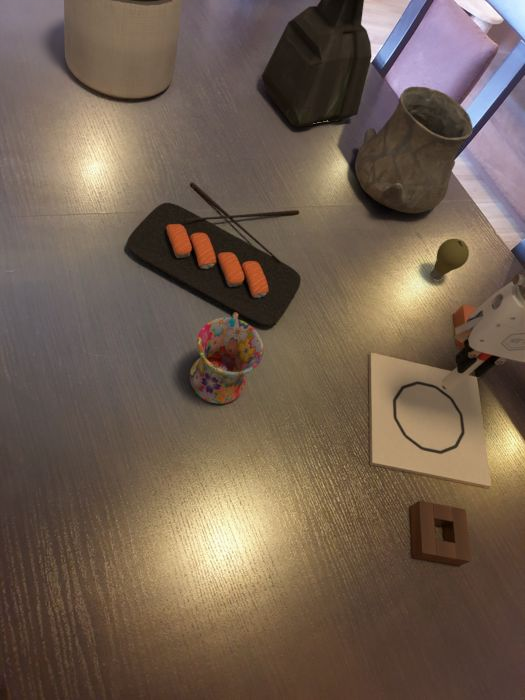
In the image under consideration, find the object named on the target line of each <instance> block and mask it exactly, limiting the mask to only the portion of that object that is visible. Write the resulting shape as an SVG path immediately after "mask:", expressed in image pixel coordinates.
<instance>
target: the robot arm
mask: <svg viewBox="0 0 525 700" xmlns="http://www.w3.org/2000/svg"><path fill="white" fill-rule="evenodd" d="M476 308H477V309H476V310H475V311H474V312H473V313H472V314H471V315H470V316H469V318H468V319H467V321H466V323H465V324H462V325H460V326H458V327H456V328H453V338H454V339H455V340H456V339H457V340H459V341H460V342H461V343H462V342H463V343H464V346H465V347H464V348H461V350H460V351H459V352H457V353H456V354H455V357H454V361H455V364H456V367H457V371H458V373H464V372H465V371H466V370H467V369H468V368H469V367H471V366H472V365H473V364H474V363H475V362H476V361H477V356H478V355H479V354H480V353H482V352H483V353H487V354H491V355H492V356H491V357H489V358H488V359H487V360H485V361H484V362H483V363H482V364H481V365H480V366H478V367H477V368H476V369H475V370H474V371H473V374H474V377H477V379H479V378H481V377H483V376H484V375H485V374H486V373H488V372H489V371H490V370H491V369H492V368H494V367H495V366H496V365H503V364H505V363H506V362H508V360H510V361H511V360H512V361H515V362H521V363H525V273H524V274H519V273H516V274H515V275H514V276H513V278H512V281H511V282H509V283H507V284H506V285H504V286H503V287H501V288H500V289H498V290H497V291H496V292H494V293H493V294H492V295H491V296H489V297H488V298H487V299H485V300H484V301H483V302H482V303H481V304H480V305H479V306H478V307H476Z"/></svg>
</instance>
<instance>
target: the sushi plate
mask: <svg viewBox="0 0 525 700" xmlns="http://www.w3.org/2000/svg"><path fill="white" fill-rule="evenodd" d="M189 184H191V185H190V187H191V186H193V187H194V188H195V189H194V188H193V187H192V188H193V189H194V190H195V191H196V190H197V191H198V192H197V191H196V192H197V193H198V194H199V193H200V196H201V197H203V198H204V199H205V200H206V201H207V202H208V203H210V205H212V206H213V207H215V209H217V210H218V211H219V212H220V213H221V214H222V215H221V216H206V217H201V216H199V215H198V214H196V213H194V212H193V211H190V210H188V209H186V208H184V207H183V206H180V205H179V204H175V203H173V202H163V203H161V204H159V205H157V206H156V207H155V208H154V209H153V210H152V211H150V213H148V215H147V216H146V217H145V218H144V219H143V220H141V222H140V223H139V224H138V225H137V226H136V227H135V229H134V230H133V231H132V232H131V234H130V235H129V236H128V238H127V241H126V247H127V249H128V250H129V251H130V253H132V254H133V255H134V256H136V257H137V258H139V259H141V260H142V261H144V262H145V263H148V264H149V265H150V266H153V267H154V268H156V269H158V270H159V271H161V272H163V273H165V274H166V275H169V276H170V277H172V278H174V279H175V280H178V281H179V282H181V283H183V284H184V285H186V286H188V287H190V288H192V289H194V290H196V291H197V292H200V293H201V294H203V295H204V296H206V297H208V298H210V299H211V300H214V301H216V302H218V303H219V304H221V305H223V306H225V307H226V308H228V309H229V310H232V311H234V312H235V313H238V315H241V316H243V317H245V318H246V319H249V320H251V321H253V322H255V323H257V324H259V325H262V326H267V327H270V326H273V325H276V324H277V323H278V322H279V321H280V320H281V318H282V317H283V316H284V314H285V313H286V311H287V309H288V308H289V306H290V304H291V303H292V301H293V299H294V298H295V296H296V294H297V292H298V290H299V288H300V285H301V275H300V274H299V272H297V271H296V269H294V268H292V267H291V266H290V265H288V264H286V263H284V262H283V261H281V260H280V259H279V258H278V257H277V256H276V255H275V254H273V253H272V252H271V251H270V250H269V249H268V248H267V247H266V246H264V245H263V244H262V243H261V242H259V240H258V239H257V238H255V237H254V236H253V235H252V234H251V233H250V232H248V231H247V229H245V228H244V226H242V225H241V224H240V223H238V222H237V220H235V219H239V218H259V217H260V218H261V217H275V216H279V217H280V216H293V215H299V214H300V211H299V210H298V209H295V210H282V211H281V210H280V211H269V212H268V211H267V212H257V213H248V214H233V215H230V214H229V213H228V212H227V211H225V210H224V209H223V208H222V207H221V206H220V205H219V204H218V203H217V202H215V200H214V199H212V198H211V197H210V196H209V195H208V194H207V193H206V192H204V190H202V189H201V187H199V186H198V185H197V184H196V183H195V182H193V181H192V182H190V183H189ZM222 219H228V220H230V221H231V222H232V223H233V224H234V225H236V227H238V228H239V229H240V230H241V231H243V232H244V233H245V234H246V235H247V236H248V237H250V239H251V240H253V241H254V242H255V243H256V244H257V245H259V246H260V247H261V248H262V249H263V250H264V251H263V250H262V249H259V248H257V247H256V246H254V245H252V244H250V243H249V242H247V241H245V240H243V239H242V238H239V237H237V236H235V235H234V234H232V233H231V232H228V231H227V230H225V229H223V228H221V227H220V226H218V225H216V224H214V223H212V222H210V221H209V220H222Z"/></svg>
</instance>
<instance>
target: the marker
mask: <svg viewBox="0 0 525 700" xmlns="http://www.w3.org/2000/svg"><path fill="white" fill-rule="evenodd" d="M491 356H492V355H491V354H487V353H483V352H482V353H480V354H479V355H478V356H477V361H476V362H475V363H474V364H473V365H472V366H471V367H469V368H468V369H467V370H466V371H465V372H464V373H458V371H457V366H456V367H455V368H454V369H452V370H451V371H452V372H451V373H450V374H449V375H447V376H446V377H445V378H444V379H443V381H442V384H443V386H442V387H443V388H444V389H449V390H451V389H453V388H454V387H455V386H456V385H458V384H459V383H460V382H461V381H462V380H463V379H465V378H466V377H467V376H468V375H469V376H470V374H472V373H474V370H475V369H476V368H477V367H478V366H480V365H481V364H482V363H483V362H484V361H485V360H487V359H488V358H489V357H491Z"/></svg>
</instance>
